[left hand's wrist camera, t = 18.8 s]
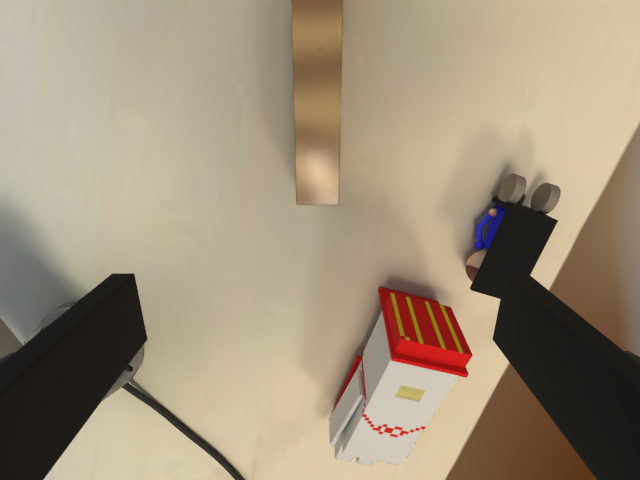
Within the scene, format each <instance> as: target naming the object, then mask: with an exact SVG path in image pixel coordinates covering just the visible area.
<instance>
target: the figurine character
mask: <svg viewBox="0 0 640 480" xmlns="http://www.w3.org/2000/svg"><path fill="white" fill-rule="evenodd" d="M525 187H526V179H525V178H524V177H522V176H519V175H516V174H510V175H509V176H508V177H507V178H506V179H505V180H504V181H503V183H502V185H501V187H500V190H499V193H498V195H497V197H493V199H492V201H493V202H494V206H493V207H494V209H490V210H489V213H488V214H487V216H486V217H485V218H484V219H483V220H482V221H481V222H480V223H479V224H478V225H477V226H476V238H477V242H476V243H475V244H474V248H476V249H482V248H486V249H488V250H483V251H478V252H476V253H474V254H472V255H471V256H470V257H469V259H468V260H467V263H466V273H467V275H468V277H469V279H470V280H471V281H472V282H473V283H472V285H471V287H470V289H471V290H472V291H476V292H479V293H483V294H486V295H489V296H493V297H496V298H500V299H501V295H502V290H503V285H504V280H505V275H506V274H529V275H530V274H531V272H532V270H533V268H534V266H535V264H536V262H537V260H538V259H539V257H540V255H541V253H542V251H543V249H544V247H545V245H546V243H547V241H548V239H549V237H550V235H551V233H552V231H553V229H554V227H555V225H556V223H557V221H558V220H555V219H553V218H551V217H549V216H547V215H545V214H547V213H549V212H551V211H552V210H553V209H554V208H555V206H556V205H557V203H558V201H559V198H560V188H559V187H558V186H556V185H552V184H549V183H543V184H542V185H540V186H539V187H538V188H537V189H536V191H535V192H534V194H533V196H532V199H531V208H529V207H526V206H523V205H522V204H523V201H524V199H525V195H524V190H525ZM497 208H499V209H497ZM492 217H493V218H492ZM491 218H492V221H491V223H490V226H489V228H488V231H487V233H486V236H485V238H484V241H483V242H482V228H483V227H484V226H485V225H486V224H487V222H488V221H489V220H490V219H491Z"/></svg>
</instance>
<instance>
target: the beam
mask: <svg viewBox="0 0 640 480" xmlns="http://www.w3.org/2000/svg"><path fill="white" fill-rule="evenodd" d="M342 21H343V0H292V29H293V75H294V120H295V165H296V204H297V205H339V168H340V119H341V70H342Z"/></svg>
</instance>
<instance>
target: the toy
mask: <svg viewBox="0 0 640 480" xmlns="http://www.w3.org/2000/svg"><path fill="white" fill-rule="evenodd" d="M378 291H379V297H380V302H381V307H382V312H381V314H380V316H379V319H378V321H377V323H376V325H375V328H374V330H373V332H372V334H371V336H370V339H369V341H368V343H367V345H366V347H365V350H364V352H363V354H364V355H363V357H362V356H358V355H357V357H356V360H355V362H354V364H353V366H352V369H351V371H350V373H349V376H348V378H347V380H346V383H345V385H344V387H343V389H342V392H341V394H340V396H339V399H338V401H337V403H336V405H335V408H334V410H333V412H332V415H331V416H330V418H329V424H330V445H332V446H334V444H335V442H336V441H337V442H336V444H335V459H338V460H343V461H348V462H351V461H352V459H353V457H356V459H357V463H358V464H364V465H369V466H373V465H374V463H375V461H379V462H384V463H389V464H395V465H401V463H402V462H403V460H404V459H405V458H408V456H409V454H410V451H411V449H412V447H413V445H414V444H415V442H416V441H417V439H418V438H419V436H420V435H421V433H422V432H423V430H424V428H425V427H426V425H427V424H428V422H429V421H430V419H431V418H432V416H433V415H434V413H435V412H436V410H437V409H438V407H439V406H440V404H441V403H442V401H443V400H444V398H445V397H446V395H447V394H448V392H449V390H450V389H451V387H452V386H453V384H454V383H455V381H456V380H457V378H458V377H459V376H462V377H467V376H468V372H467V369H466V367H465V366H466V365H467V363H468V362H469V360H470V359H471V357H472V353H471V351H470V349H469V347H468V344H467V342H466V340H465V338H464V336H463V333H462V331H461V329H460V327H459V325H458V322H457V320H456V318H455V316H454V313H453V311H452V309H451V307H448V306H444V305H440V304H439V302H438V301H435V300H431V299H427V298H423V297H419V296H415V295H410V294H406V293H402V292H398V291H394V290H390V289H386V288H382V287H379V289H378ZM338 437H339V438H338ZM337 439H338V440H337Z"/></svg>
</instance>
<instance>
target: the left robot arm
mask: <svg viewBox="0 0 640 480" xmlns="http://www.w3.org/2000/svg"><path fill="white" fill-rule="evenodd" d="M146 340H147V335H146V330H145V325H144V320H143V315H142V310H141V305H140V300H139V295H138V290H137V285H136V280H135V275H134V274H111V275H110V276H109V277H108V278H106V279H105V280H104V281H103V282H102V283H100V284H99V285H98V286H97V287H95V288H94V289H93V290H92V291H90V292H89V293H88V294H87V295H85V296H84V297H83V298H82V299H80V300H79V301H78V302H75V303H70V304H66V305H64V306H61V307H59V308H58V309H56V310H55V311H53V312H52V313H51V314H49V315H48V316H47V317H46V318H45V319H43V321H42V322H41V323H40V325H39V326H38V327H37V329H36V331H35V332H34V333H33V334H32V335H31V336H30V337H29V338H28V339H27V340H26V342H25V343H24V345H22V344H21V343H20V341H19V340H18V339H17V338H16V337H15V335H14V334H13V333H12V332H11V330H10V329H9V328H8V327H7V326H6V324H5V323H4V322H3V321H2V319H1V318H0V480H43V479H44V478H45V477H46V475H47V474H48V473H49V472H50V470H51V469H52V467H53V466H54V464H55V463H56V462H57V460H58V459H59V458H60V456H61V455H62V454H63V452H64V451H65V450H66V448H67V447H68V446H69V444H70V443H71V441H72V440H73V439H74V437H75V436H76V435H77V433H78V432H79V431H80V429H81V428H82V427H83V425H84V424H85V423H86V421H87V420H88V419H89V417H90V416H91V415H92V413H93V412H94V410H95V409H96V408H97V406H98V405H99V404H100V402H101V401H103V400H104V399H105V398H107V397H108V396H110V395H111V394H113V393H114V392H115V391H117V390H118V389H120V388H121V387H123V388H124V389H125V390H127V391H128V392H130V393H131V394H132V395H134V396H135V397H137V398H138V399H140V400H141V401H143V402H144V403H146V404H147V405H149V406H150V407H152V408H153V409H154V410H156V411H157V412H158V413H159V414H161V415H162V416H163V417H164V418H166V419H167V420H168V421H169V422H170V423H172V424H173V425H174V426H175V427H176V428H177V429H179V430H180V431H181V432H182V433H183V434H185V435H186V436H187V437H188V438H190V439H191V440H192V441H193V442H195V443H196V444H197V445H198V446H200V447H201V448H202V449H204V450H205V451H206V452H207V453H208V454H210V455H211V456H212V457H213V458H214V459H215V460H216V461H218V462H219V463H220V464H221V465H222V466H223V467H224V468H225V469H226V470H227V471H228V472H229V473H230V474H231V476H232V477H233V478H234V479H235V480H243V479H242V478H241V477H240V475H239V474H238V473H237V472H236V471H235V470H234V469H233V468H232V467H231V466H230V465H229V464H228V463H227V462H226V461H225V460H224V459H223V458H222V457H221V456H220V455H219V454H218V453H217V452H216V451H215V450H213V449H212V448H211V447H210V446H209V445H207V444H206V443H205V442H204V441H202V440H201V439H200V438H199V437H197V436H196V435H195V434H194V433H192V432H191V431H190V430H189V429H187V428H186V427H185V426H184V425H183V424H182V423H180V422H179V421H178V420H177V419H176V418H175V417H173V416H172V415H171V414H170V413H169V412H167V411H166V410H165V409H164V408H163V407H161V406H160V405H159V404H157V403H156V402H155V401H153V400H152V399H150V398H149V397H147V396H146V395H144V394H143V393H141V392H140V391H139V390H137V389H136V388H134V387H133V386H132V385H130V384H129V383H128V382H129V381H130V380H131V379H132V378H133V376H134V375H135V373H136V372H137V370H138V369H139V367H140V366H141V363H142V361H143V356H144V348H143V344H144V343H145V342H146ZM493 340H494V342H495V343H496V344H497V346H498V347H499V348H500V350H501V351H502V352H503V354H504V355H505V357H506V358H507V359H508V361H509V362H510V363H511V365H512V366H513V367H514V369H515V370H516V371H517V373H518V374H519V375H520V377H521V378H522V379H523V381H524V382H525V384H526V385H527V386H528V387H529V389H530V390H531V392H532V393H533V394H534V396H535V397H536V398H537V400H538V401H539V402H540V404H541V405H542V406H543V408H544V409H545V410H546V412H547V413H548V415H549V416H550V417H551V419H552V420H553V421H554V423H555V424H556V425H557V427H558V428H559V429H560V431H561V432H562V433H563V435H564V436H565V437H566V439H567V440H568V441H569V443H570V444H571V446H572V447H573V448H574V450H575V451H576V452H577V454H578V455H579V456H580V458H581V459H582V460H583V462H584V463H585V464H586V466H587V467H588V468H589V470H590V471H591V472H592V474H593V475H594V476H595V478H596V479H597V480H640V357H638V356H636V355H635V354H633V353H631V352H629V351H623V350H622V349H620V348H619V347H618V346H617V345H615V344H614V343H613V342H612V341H610V340H609V339H608V338H607V337H605V336H604V335H603V334H602V333H601V332H599V331H598V330H597V329H596V328H594V327H593V326H592V325H591V324H589V323H588V322H587V321H586V320H584V319H583V318H582V317H581V316H579V315H578V314H577V313H576V312H574V311H573V310H572V309H571V308H569V307H568V306H567V305H566V304H565V303H563V302H562V301H561V300H560V299H558V298H557V297H556V296H555V295H553V294H552V293H551V292H550V291H548V290H547V289H546V288H545V287H543V286H542V285H541V284H540V283H538V282H537V281H536V280H535V279H534V278H532V277H531V276H530V275H529V274H506V275H505V280H504V285H503V290H502V295H501V300H500V305H499V310H498V315H497V320H496V325H495V330H494V335H493Z"/></svg>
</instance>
